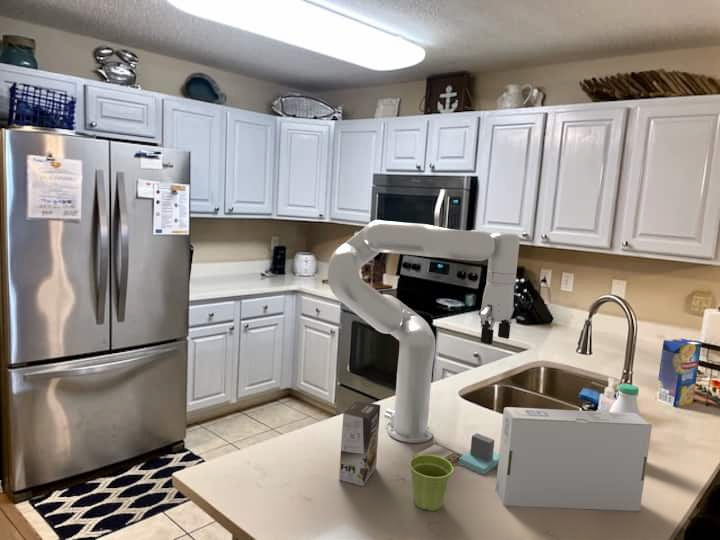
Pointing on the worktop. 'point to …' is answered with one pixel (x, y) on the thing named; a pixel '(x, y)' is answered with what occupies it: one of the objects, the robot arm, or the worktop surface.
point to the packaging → (572, 459)
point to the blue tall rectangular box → (678, 372)
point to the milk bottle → (626, 400)
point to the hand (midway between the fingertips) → (495, 340)
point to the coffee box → (359, 442)
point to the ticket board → (441, 453)
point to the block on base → (480, 455)
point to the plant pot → (429, 480)
